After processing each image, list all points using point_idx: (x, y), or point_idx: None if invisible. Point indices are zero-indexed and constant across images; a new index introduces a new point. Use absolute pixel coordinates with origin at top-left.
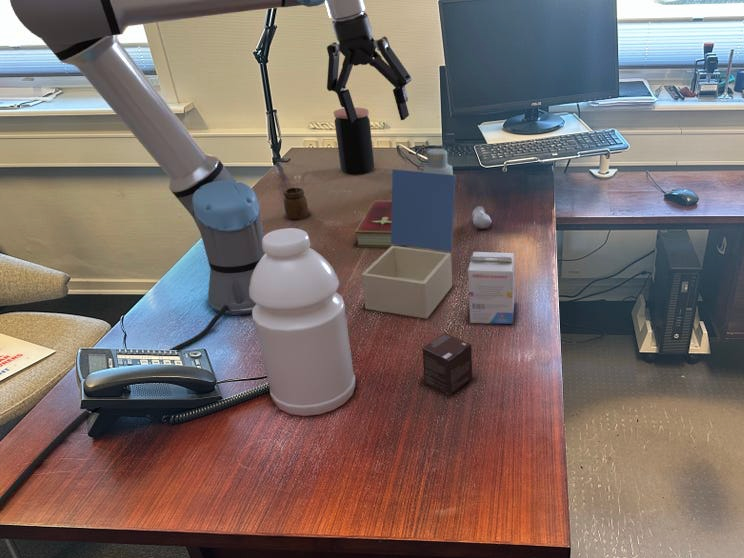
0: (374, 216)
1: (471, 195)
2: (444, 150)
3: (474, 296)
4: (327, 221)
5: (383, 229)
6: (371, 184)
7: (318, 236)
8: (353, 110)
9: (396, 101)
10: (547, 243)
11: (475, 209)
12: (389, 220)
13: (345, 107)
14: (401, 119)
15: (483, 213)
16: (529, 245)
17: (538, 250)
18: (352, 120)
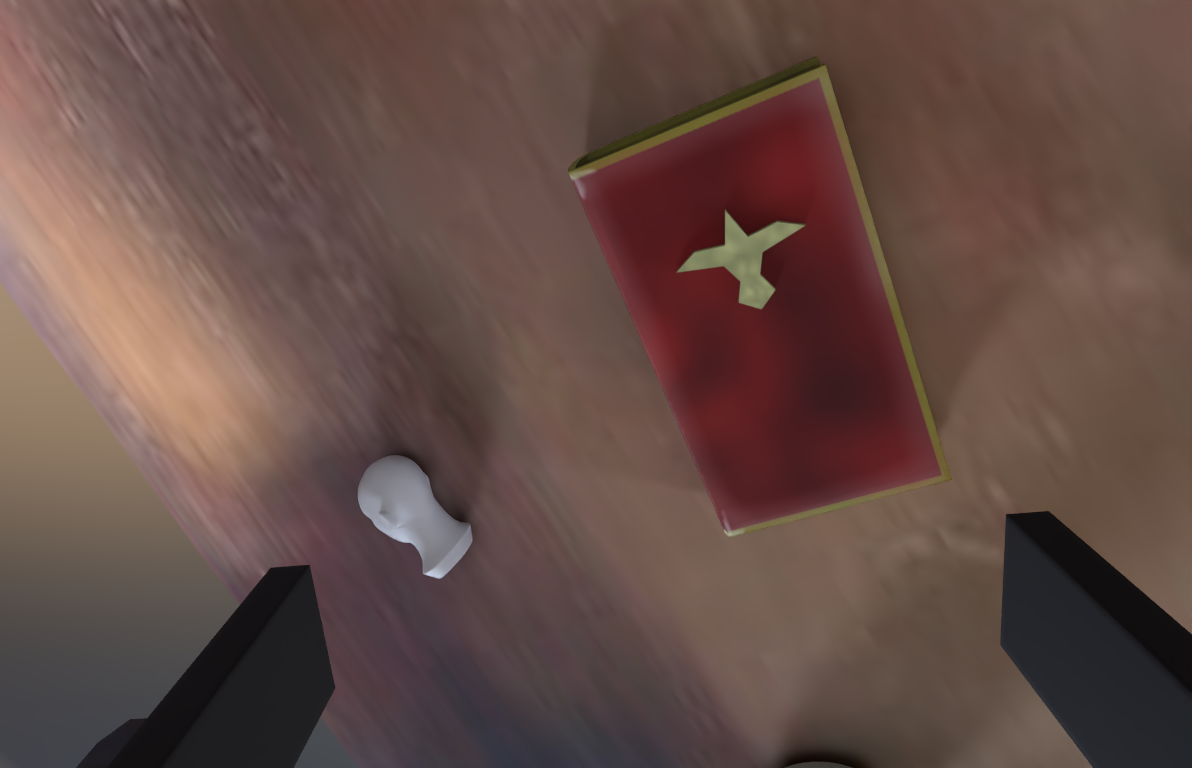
0: (831, 298)
1: (629, 734)
2: None
3: None
4: (1156, 275)
5: (685, 164)
6: None
7: (1108, 76)
8: (1056, 681)
9: (196, 706)
10: (117, 437)
11: (443, 551)
12: (723, 283)
13: (1145, 619)
14: (294, 568)
15: (387, 523)
16: (156, 397)
17: (102, 369)
18: (1013, 548)
